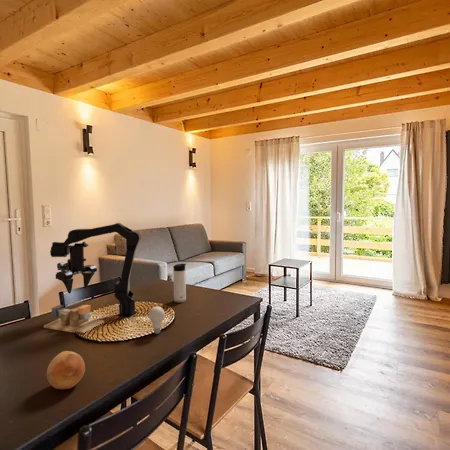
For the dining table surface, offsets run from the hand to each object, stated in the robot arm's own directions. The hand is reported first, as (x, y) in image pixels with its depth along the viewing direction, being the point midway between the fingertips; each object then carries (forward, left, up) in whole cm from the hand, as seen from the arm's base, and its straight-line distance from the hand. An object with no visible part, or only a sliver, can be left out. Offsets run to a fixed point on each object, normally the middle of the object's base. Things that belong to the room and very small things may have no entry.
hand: (77, 290), depth 141 cm
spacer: (-11, +8, -6) cm, 15 cm away
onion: (-38, +44, -13) cm, 60 cm away
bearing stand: (-6, +8, -13) cm, 16 cm away
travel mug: (-34, -35, -13) cm, 50 cm away
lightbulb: (-44, +5, -13) cm, 46 cm away
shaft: (-4, +8, -10) cm, 13 cm away
